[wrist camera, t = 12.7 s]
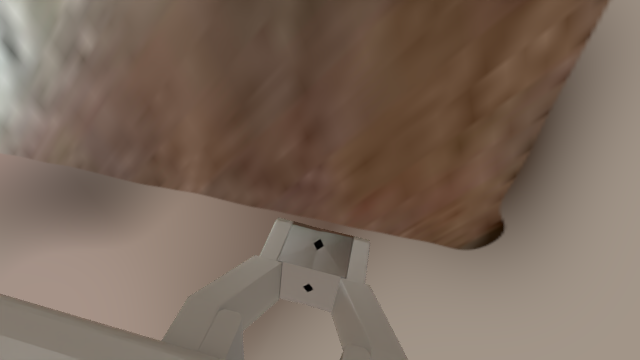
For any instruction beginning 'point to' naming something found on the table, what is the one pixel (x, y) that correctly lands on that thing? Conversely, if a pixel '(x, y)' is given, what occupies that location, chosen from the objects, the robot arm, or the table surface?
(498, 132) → the table surface
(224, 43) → the table surface
